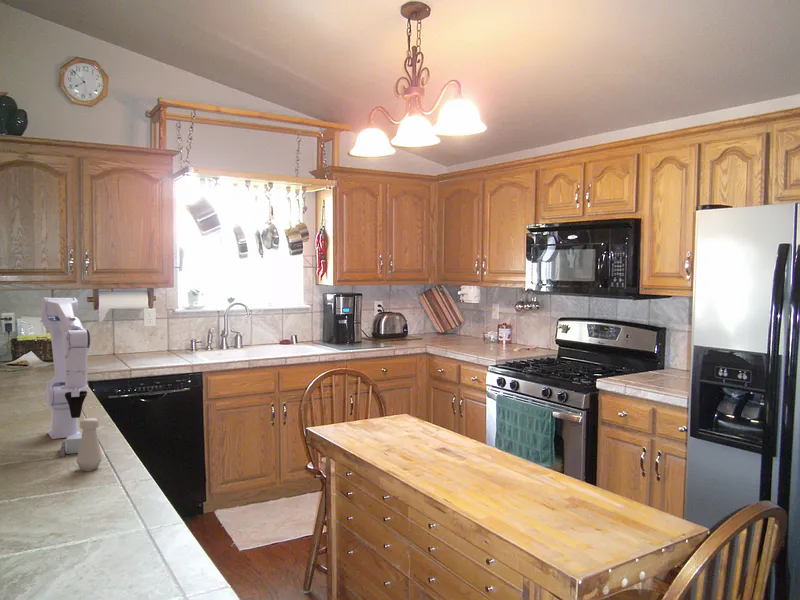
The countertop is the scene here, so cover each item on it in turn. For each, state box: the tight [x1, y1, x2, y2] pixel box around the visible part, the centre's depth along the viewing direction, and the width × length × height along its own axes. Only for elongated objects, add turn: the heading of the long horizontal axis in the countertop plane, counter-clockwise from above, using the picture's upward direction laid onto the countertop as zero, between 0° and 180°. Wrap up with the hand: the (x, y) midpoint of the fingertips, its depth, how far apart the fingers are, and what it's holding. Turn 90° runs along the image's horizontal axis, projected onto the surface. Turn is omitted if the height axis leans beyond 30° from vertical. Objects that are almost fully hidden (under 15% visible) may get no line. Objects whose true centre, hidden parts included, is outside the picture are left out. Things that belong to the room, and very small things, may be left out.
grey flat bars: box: [59, 440, 66, 458], centre depth 169 cm, size 9×7×2 cm
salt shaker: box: [75, 417, 103, 472], centre depth 154 cm, size 6×6×13 cm
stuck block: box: [65, 435, 82, 455], centre depth 169 cm, size 4×4×4 cm
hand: (75, 417), depth 174 cm, fingers closed
